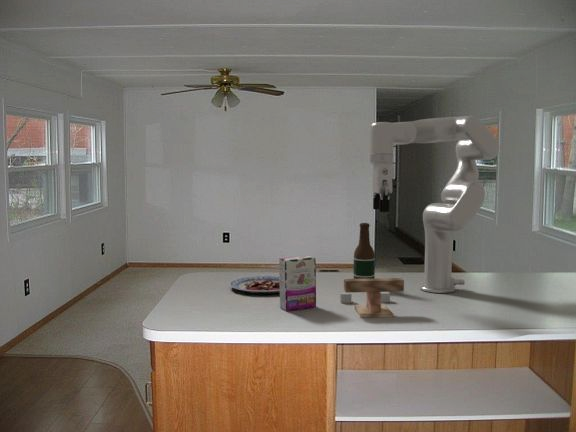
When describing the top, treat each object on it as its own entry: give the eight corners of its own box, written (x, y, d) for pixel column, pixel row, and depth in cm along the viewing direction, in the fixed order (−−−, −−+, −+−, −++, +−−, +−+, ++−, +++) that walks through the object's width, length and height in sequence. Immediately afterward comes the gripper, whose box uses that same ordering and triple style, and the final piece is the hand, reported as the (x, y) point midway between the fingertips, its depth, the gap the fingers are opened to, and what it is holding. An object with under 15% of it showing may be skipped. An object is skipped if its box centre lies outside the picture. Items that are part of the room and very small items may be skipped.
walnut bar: (400, 288, 182) (400, 277, 181) (403, 291, 178) (403, 280, 178) (343, 289, 180) (344, 278, 180) (345, 292, 177) (345, 281, 177)
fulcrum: (385, 308, 185) (385, 286, 185) (393, 316, 175) (393, 294, 175) (354, 309, 185) (354, 287, 184) (360, 317, 175) (360, 294, 174)
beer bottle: (373, 285, 220) (374, 222, 217) (374, 289, 212) (375, 224, 209) (353, 284, 220) (353, 222, 218) (353, 289, 213) (354, 224, 210)
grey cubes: (388, 300, 196) (388, 291, 195) (389, 302, 193) (390, 293, 193) (339, 301, 195) (339, 292, 194) (340, 303, 192) (340, 294, 192)
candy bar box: (309, 304, 191) (308, 254, 190) (316, 307, 187) (316, 257, 185) (278, 308, 186) (278, 257, 185) (285, 311, 182) (285, 260, 180)
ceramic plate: (313, 290, 211) (313, 282, 211) (252, 300, 197) (252, 292, 197) (274, 279, 233) (274, 271, 232) (217, 287, 218) (217, 279, 218)
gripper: (399, 159, 185) (398, 212, 187) (386, 159, 202) (386, 208, 204) (376, 159, 185) (375, 213, 186) (365, 159, 202) (364, 208, 204)
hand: (381, 210), depth 195 cm, fingers open, 9 cm apart
